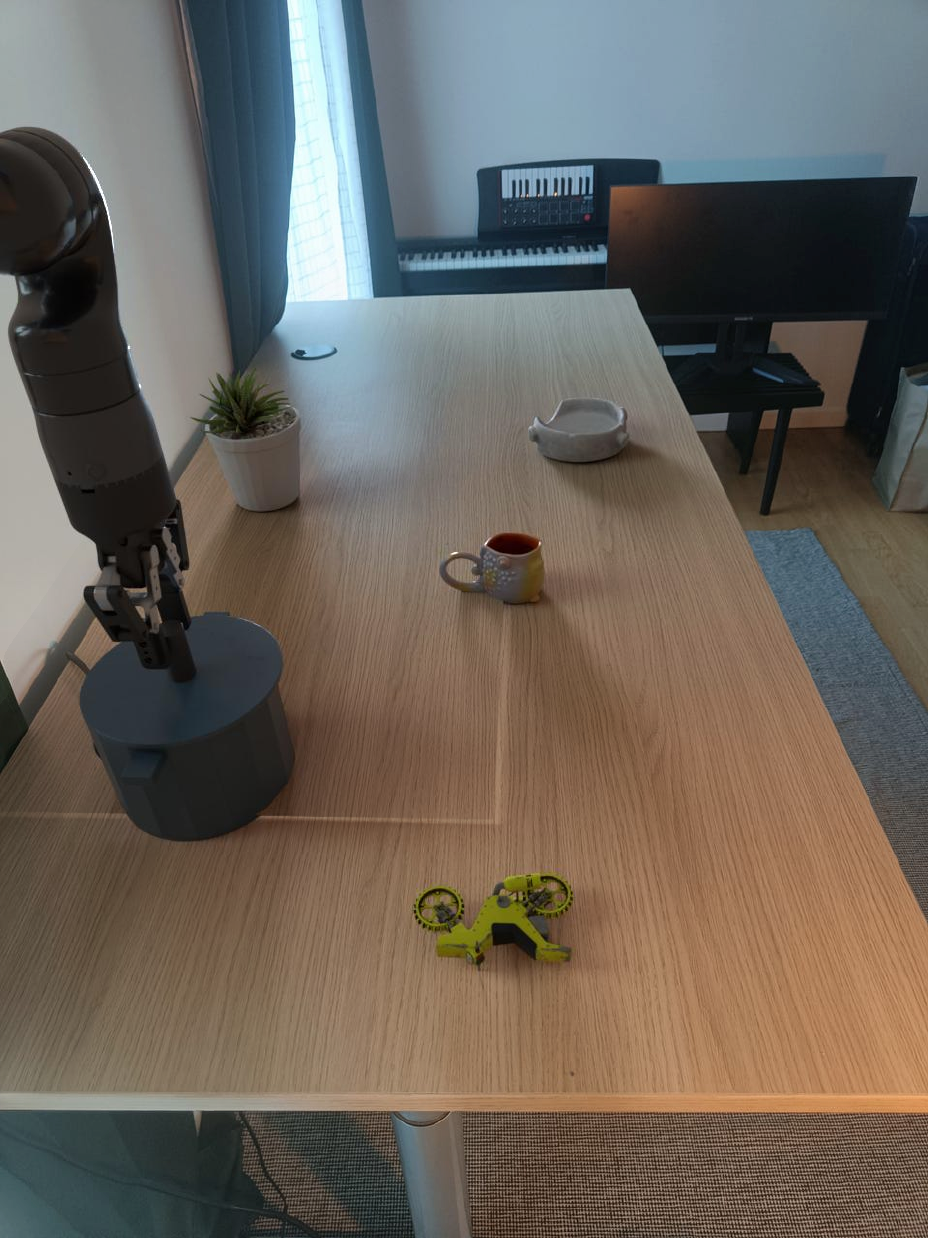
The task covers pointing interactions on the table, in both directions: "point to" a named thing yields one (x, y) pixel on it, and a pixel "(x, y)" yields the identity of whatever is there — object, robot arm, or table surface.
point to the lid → (183, 684)
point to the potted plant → (255, 444)
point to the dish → (582, 430)
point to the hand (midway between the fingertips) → (168, 646)
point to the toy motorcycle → (499, 919)
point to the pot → (204, 776)
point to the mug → (503, 568)
